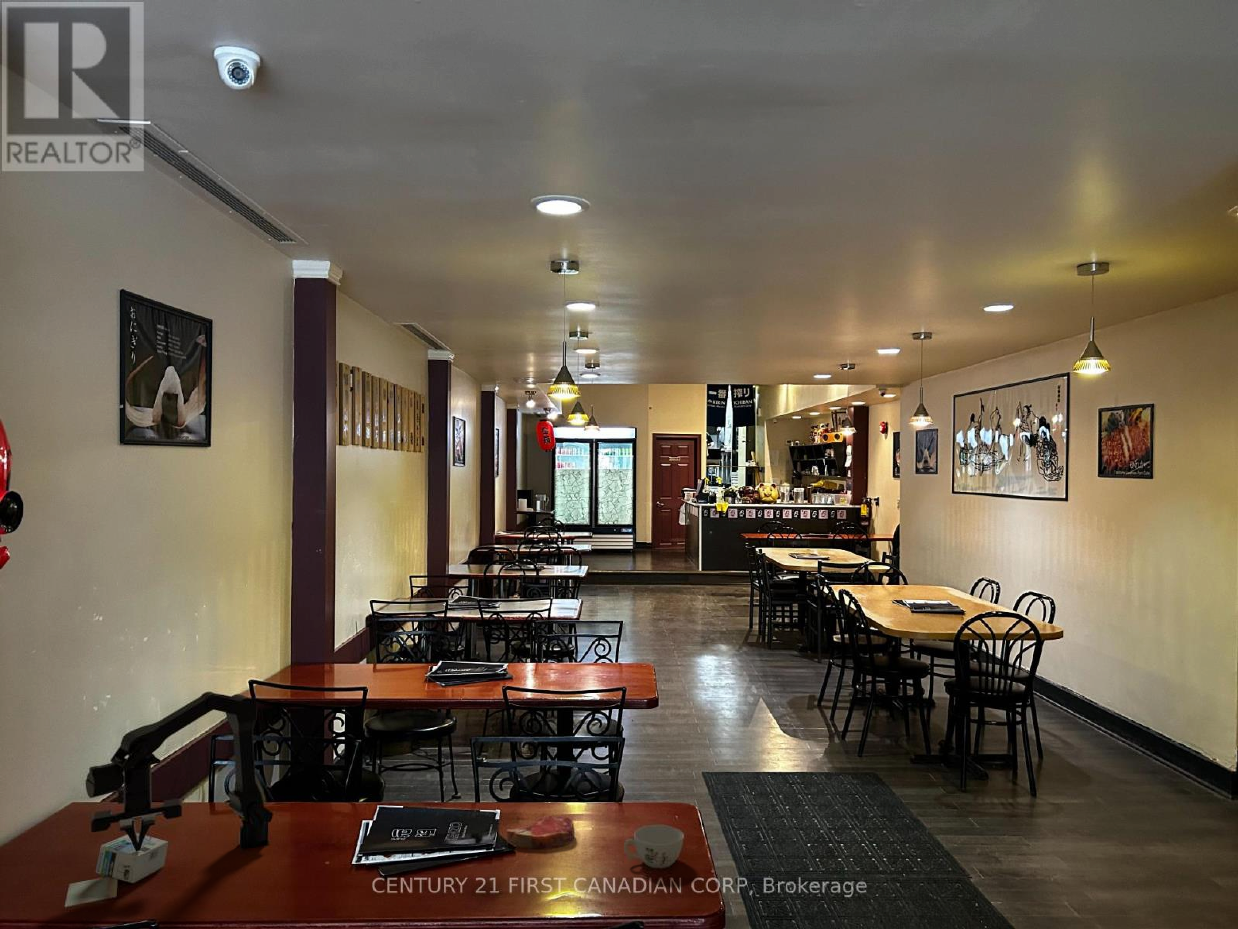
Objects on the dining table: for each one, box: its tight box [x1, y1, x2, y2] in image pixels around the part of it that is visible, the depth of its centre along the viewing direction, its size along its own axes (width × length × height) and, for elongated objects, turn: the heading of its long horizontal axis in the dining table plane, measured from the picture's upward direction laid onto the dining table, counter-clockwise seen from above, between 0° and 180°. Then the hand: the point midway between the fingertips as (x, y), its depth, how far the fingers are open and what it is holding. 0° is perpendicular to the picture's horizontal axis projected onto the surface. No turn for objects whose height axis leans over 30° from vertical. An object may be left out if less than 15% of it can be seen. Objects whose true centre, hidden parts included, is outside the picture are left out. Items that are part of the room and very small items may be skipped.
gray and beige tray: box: [64, 876, 119, 908], centre depth 199 cm, size 10×12×2 cm
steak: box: [505, 815, 576, 851], centre depth 226 cm, size 25×21×6 cm
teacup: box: [623, 824, 685, 869], centre depth 214 cm, size 15×12×8 cm
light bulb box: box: [95, 832, 169, 884], centre depth 207 cm, size 11×7×11 cm
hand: (137, 850), depth 203 cm, fingers closed
